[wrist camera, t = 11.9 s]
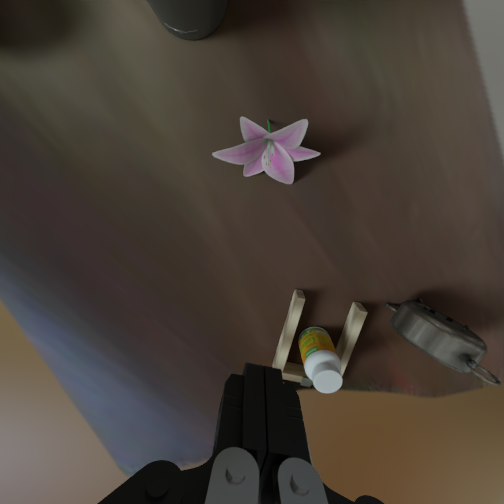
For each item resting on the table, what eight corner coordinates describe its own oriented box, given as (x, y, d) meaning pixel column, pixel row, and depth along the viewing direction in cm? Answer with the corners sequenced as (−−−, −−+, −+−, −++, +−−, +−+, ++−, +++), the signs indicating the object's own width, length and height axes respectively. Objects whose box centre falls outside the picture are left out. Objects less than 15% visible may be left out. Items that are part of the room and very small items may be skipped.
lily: (207, 146, 38) (203, 183, 32) (249, 60, 31) (255, 84, 25) (276, 181, 43) (285, 220, 37) (326, 114, 36) (348, 147, 29)
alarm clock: (373, 309, 44) (437, 384, 29) (392, 281, 43) (470, 345, 27) (429, 334, 45) (519, 419, 30) (449, 308, 44) (554, 384, 28)
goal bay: (295, 289, 43) (298, 298, 40) (360, 303, 44) (368, 313, 41) (272, 365, 48) (273, 379, 44) (331, 377, 48) (337, 392, 45)
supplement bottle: (307, 320, 45) (321, 360, 36) (335, 333, 46) (355, 375, 36) (292, 345, 46) (301, 389, 37) (319, 357, 47) (334, 403, 38)
